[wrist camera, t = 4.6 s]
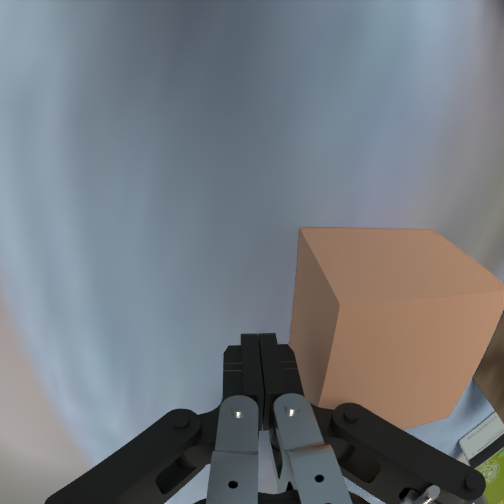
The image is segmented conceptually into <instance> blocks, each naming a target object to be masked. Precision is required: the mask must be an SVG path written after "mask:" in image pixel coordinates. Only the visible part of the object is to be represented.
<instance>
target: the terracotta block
mask: <svg viewBox="0 0 504 504" xmlns="http://www.w3.org/2000/svg"><path fill="white" fill-rule="evenodd" d="M503 309H504V283H503V282H501V281H500V280H499V279H498V278H496V277H495V276H494V275H493V274H491V273H490V272H489V271H488V270H486V269H485V268H484V267H483V266H481V265H480V264H479V263H478V262H476V261H475V260H474V259H472V258H471V257H470V256H468V255H467V254H466V253H464V252H463V251H462V250H460V249H459V248H458V247H456V246H455V245H454V244H452V243H451V242H449V241H448V240H447V239H445V238H444V237H442V236H441V235H440V234H438V233H437V232H435V231H434V230H420V229H379V228H300V227H299V241H298V254H297V267H296V279H295V290H294V302H293V312H292V323H291V332H290V342H289V347H290V348H291V349H292V350H293V351H294V354H295V358H296V362H297V366H298V370H299V375H300V379H301V383H302V387H303V392H304V395H305V397H306V398H307V399H308V401H309V402H310V403H311V404H313V405H315V406H317V407H321V408H326V409H333V410H335V408H336V407H337V406H339V405H340V404H343V403H349V402H351V403H356V404H359V405H361V406H363V407H364V408H366V409H368V410H369V411H371V412H373V413H374V414H376V415H378V416H379V417H381V418H383V419H384V420H386V421H388V422H389V423H391V424H393V425H395V426H396V427H398V428H400V429H401V430H404V429H408V428H412V427H416V426H419V425H423V424H427V423H430V422H434V421H437V420H441V419H444V418H447V417H449V415H450V414H451V412H452V411H453V409H454V407H455V406H456V404H457V403H458V401H459V399H460V397H461V396H462V394H463V392H464V391H465V389H466V387H467V385H468V383H469V382H470V380H471V378H472V376H473V374H474V372H475V370H476V369H477V367H478V365H479V363H480V361H481V359H482V357H483V355H484V353H485V351H486V348H487V346H488V344H489V342H490V340H491V338H492V335H493V333H494V331H495V329H496V326H497V324H498V322H499V319H500V317H501V314H502V312H503Z"/></svg>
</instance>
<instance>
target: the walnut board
mask: <svg viewBox="0 0 504 504" xmlns="http://www.w3.org/2000/svg"><path fill="white" fill-rule="evenodd" d="M473 379H474V381H475V382H476V383H477V385H478V386H479V388H480V389H481V391H482V392H483V394H484V395H485V396H486V398H487V399H488V401H489V402H490V404H491V405H492V407H493V408H494V410H495V411H496V413H497V414H498V416H499V418H500V419H501V421H502V422H503V424H504V312H503V314H502V317H501V319H500V322H499V324H498V326H497V329H496V331H495V333H494V335H493V338H492V340H491V342H490V344H489V346H488V349H487V351H486V353H485V355H484V357H483V359H482V361H481V363H480V365H479V367H478V369H477V371H476V373H475V374H474V376H473Z"/></svg>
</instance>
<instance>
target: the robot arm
mask: <svg viewBox="0 0 504 504" xmlns="http://www.w3.org/2000/svg"><path fill="white" fill-rule="evenodd" d="M223 363H224V364H223V399H222V402H221V404H220V405H219V406H218V407H217V408H216V409H214V410H213V411H210V412H208V413H204V414H200V415H197V414H196V413H194V412H193V411H191V410H188V409H175V410H172V411H170V412H168V413H167V414H166V415H164V416H163V417H162V418H160V419H159V420H158V421H156V422H155V423H154V424H153V425H151V426H150V427H149V428H147V429H146V430H145V431H143V432H142V433H141V434H139V435H138V436H137V437H135V438H134V439H133V440H131V441H130V442H128V443H127V444H126V445H124V446H123V447H122V448H120V449H119V450H117V451H116V452H115V453H113V454H112V455H111V456H109V457H108V458H106V459H105V460H103V461H102V462H101V463H99V464H98V465H96V466H95V467H93V468H92V469H91V470H89V471H88V472H86V473H85V474H83V475H82V476H80V477H79V478H77V479H76V480H75V481H73V482H71V483H70V484H68V485H67V486H65V487H64V488H62V489H61V490H59V491H57V492H56V493H54V494H53V495H51V496H50V497H49V498H48V499H47V500H46V501H45V504H164V503H165V502H166V501H167V500H169V499H170V498H171V497H172V496H173V495H174V494H176V493H177V492H178V491H179V490H180V489H181V488H182V487H183V486H185V485H186V484H187V483H188V482H189V481H190V480H191V479H192V478H193V477H195V476H196V475H197V474H198V473H199V472H200V471H201V470H202V469H203V468H204V467H205V465H207V464H210V463H211V466H210V474H209V482H208V491H207V498H205V499H202V500H200V501H198V502H196V503H194V504H370V503H369V502H367V501H366V500H364V499H363V498H361V497H360V496H358V495H356V494H354V493H351V492H349V491H348V490H347V487H346V484H345V481H344V478H343V476H344V477H346V478H347V479H349V480H350V481H352V482H353V483H355V484H356V485H358V486H359V487H361V488H362V489H364V490H366V491H367V492H369V493H370V494H372V495H373V496H375V497H377V498H378V499H380V500H381V501H383V502H385V503H386V504H472V503H473V502H475V501H476V500H477V499H478V498H479V497H481V496H482V495H483V493H484V491H485V488H486V481H485V478H484V476H483V475H482V473H480V472H479V471H477V470H476V469H474V468H472V467H470V466H468V465H466V464H464V463H462V462H460V461H458V460H456V459H454V458H452V457H450V456H448V455H446V454H445V453H443V452H441V451H439V450H437V449H435V448H433V447H432V446H430V445H428V444H426V443H424V442H423V441H421V440H419V439H417V438H415V437H414V436H412V435H410V434H408V433H407V432H405V431H403V430H401V429H400V428H398V427H396V426H395V425H393V424H391V423H389V422H388V421H386V420H384V419H383V418H381V417H379V416H378V415H376V414H374V413H373V412H371V411H369V410H368V409H366V408H364V407H363V406H361V405H359V404H356V403H351V402H349V403H343V404H340V405H339V406H337V407H336V408H335V410H333V409H326V408H321V407H317V406H315V405H313V404H311V403H310V402H309V401H308V399H307V398H306V397H305V395H304V392H303V387H302V383H301V379H300V375H299V370H298V366H297V362H296V358H295V354H294V351H293V350H292V349H291V348H290V347H289V345H288V344H279V345H277V340H276V334H275V333H261V334H241V345H237V346H228V348H227V349H226V351H225V352H224V361H223ZM262 425H263V430H269V434H270V442H269V448H270V452H271V457H272V462H273V466H274V471H275V476H276V481H277V493H278V494H267V493H260V492H258V438H259V431H261V430H262ZM342 475H343V476H342Z"/></svg>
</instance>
